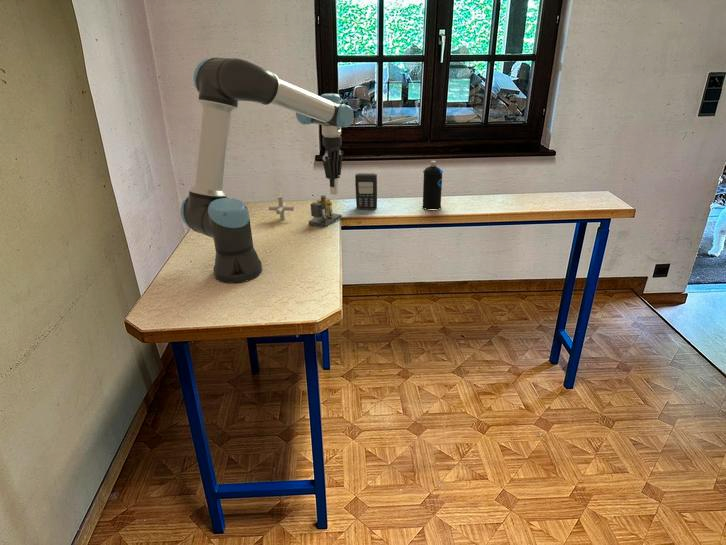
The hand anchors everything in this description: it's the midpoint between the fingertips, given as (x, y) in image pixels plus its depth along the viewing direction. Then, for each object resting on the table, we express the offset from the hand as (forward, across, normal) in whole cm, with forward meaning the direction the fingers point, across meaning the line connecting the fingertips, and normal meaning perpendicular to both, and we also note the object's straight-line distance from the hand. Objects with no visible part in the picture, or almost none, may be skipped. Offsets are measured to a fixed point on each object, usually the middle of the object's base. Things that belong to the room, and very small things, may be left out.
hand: (334, 193), depth 197 cm
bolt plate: (+9, -9, -1) cm, 13 cm away
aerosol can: (+8, +26, -33) cm, 43 cm away
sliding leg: (+7, -8, -1) cm, 11 cm away
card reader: (+9, +13, -8) cm, 17 cm away
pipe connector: (+9, -15, +16) cm, 24 cm away
